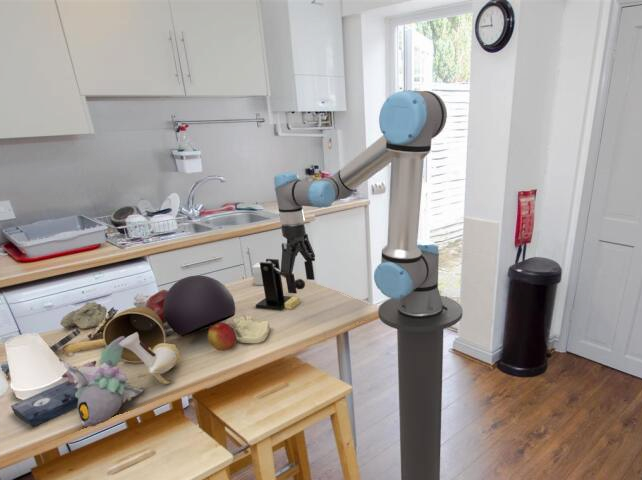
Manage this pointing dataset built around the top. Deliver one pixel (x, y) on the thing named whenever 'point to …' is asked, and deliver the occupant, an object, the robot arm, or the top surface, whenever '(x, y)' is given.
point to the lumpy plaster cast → (250, 330)
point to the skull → (141, 300)
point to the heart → (157, 304)
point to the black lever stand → (272, 287)
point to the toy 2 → (100, 386)
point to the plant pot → (135, 330)
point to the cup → (32, 365)
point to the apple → (221, 336)
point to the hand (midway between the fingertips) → (301, 286)
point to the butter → (292, 302)
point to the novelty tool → (95, 344)
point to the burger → (103, 323)
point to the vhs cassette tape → (46, 404)
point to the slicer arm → (299, 282)
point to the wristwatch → (5, 368)
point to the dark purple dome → (197, 304)
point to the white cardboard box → (257, 274)
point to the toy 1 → (64, 340)
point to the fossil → (85, 316)
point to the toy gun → (153, 356)
